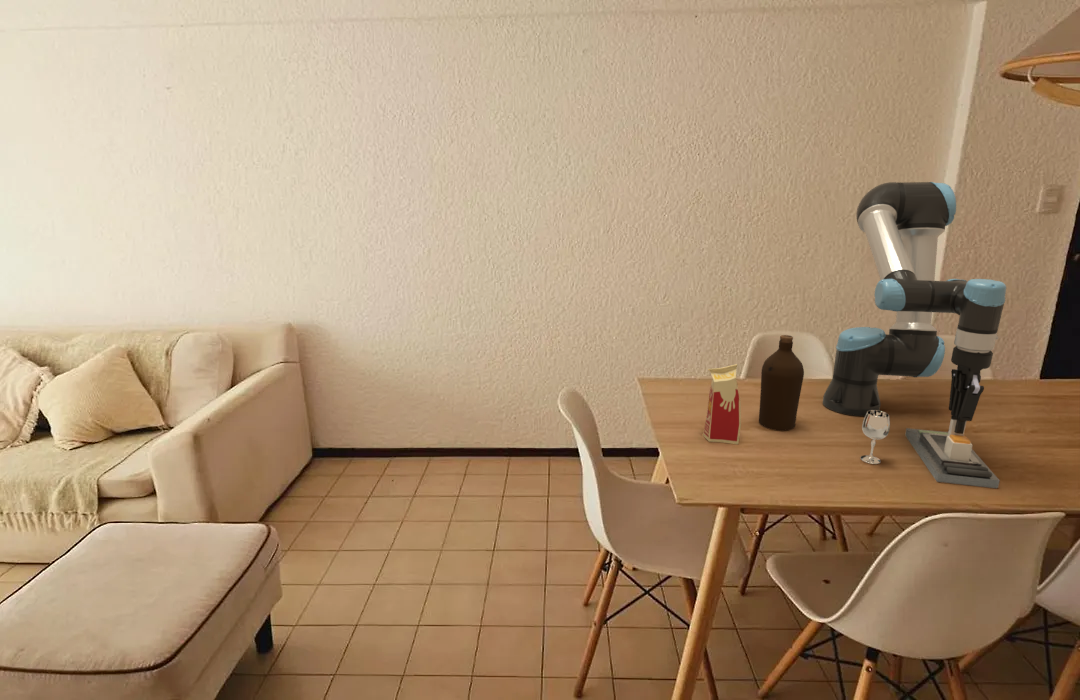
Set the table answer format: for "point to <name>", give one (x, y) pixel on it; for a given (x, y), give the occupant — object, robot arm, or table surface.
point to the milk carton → (723, 407)
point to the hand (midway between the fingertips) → (953, 443)
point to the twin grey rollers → (967, 470)
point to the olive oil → (780, 387)
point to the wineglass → (875, 431)
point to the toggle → (958, 447)
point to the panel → (945, 459)
